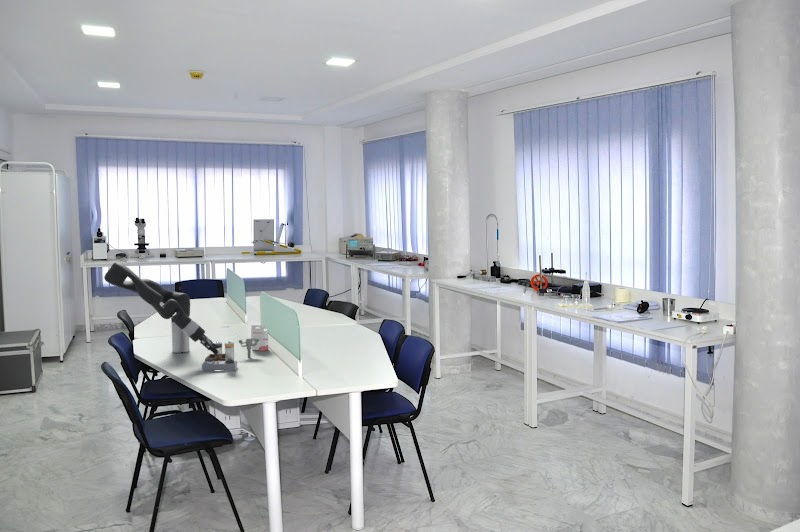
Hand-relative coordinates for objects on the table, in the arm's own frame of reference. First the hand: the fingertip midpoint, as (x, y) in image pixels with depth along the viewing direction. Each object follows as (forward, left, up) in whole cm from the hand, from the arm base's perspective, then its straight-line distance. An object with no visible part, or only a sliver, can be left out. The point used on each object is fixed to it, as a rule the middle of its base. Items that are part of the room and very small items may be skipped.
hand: (216, 351), depth 333 cm
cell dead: (0, 0, -6) cm, 6 cm away
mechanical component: (-11, +15, -6) cm, 20 cm away
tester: (+13, +3, -6) cm, 15 cm away
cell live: (+13, +8, -3) cm, 16 cm away
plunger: (+13, -1, -6) cm, 15 cm away
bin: (0, 0, -6) cm, 6 cm away
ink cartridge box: (-28, +19, -6) cm, 35 cm away
